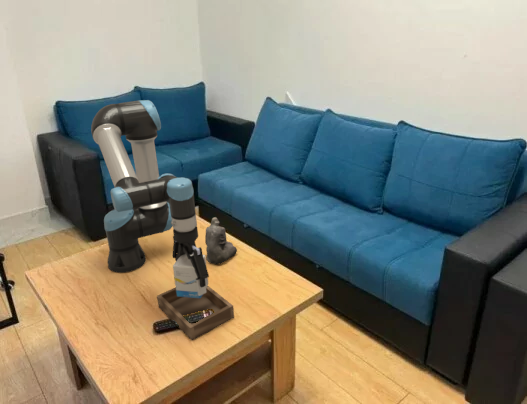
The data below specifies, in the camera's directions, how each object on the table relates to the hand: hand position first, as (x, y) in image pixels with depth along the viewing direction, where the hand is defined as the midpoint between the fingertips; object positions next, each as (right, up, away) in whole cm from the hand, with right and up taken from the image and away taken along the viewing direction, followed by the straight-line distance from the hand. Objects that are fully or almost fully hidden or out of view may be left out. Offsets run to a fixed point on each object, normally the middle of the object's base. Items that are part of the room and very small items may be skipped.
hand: (192, 285), depth 143 cm
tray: (0, -10, +5) cm, 11 cm away
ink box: (0, -2, +1) cm, 2 cm away
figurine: (+6, +4, +37) cm, 38 cm away
